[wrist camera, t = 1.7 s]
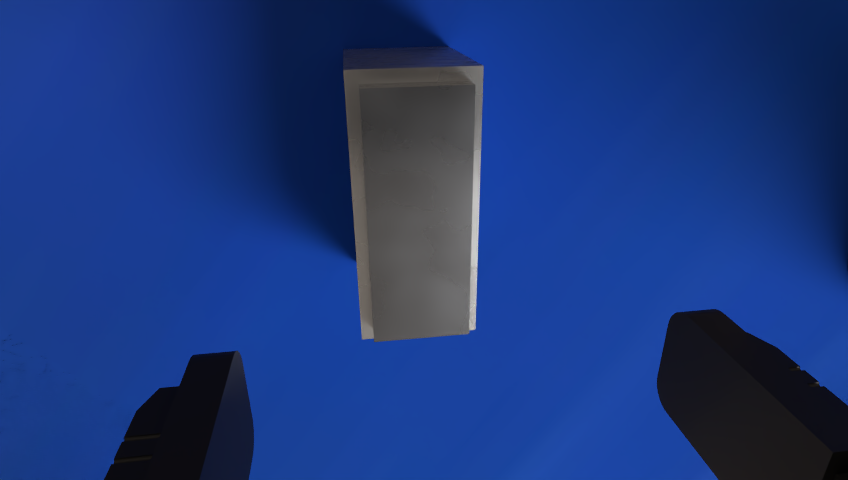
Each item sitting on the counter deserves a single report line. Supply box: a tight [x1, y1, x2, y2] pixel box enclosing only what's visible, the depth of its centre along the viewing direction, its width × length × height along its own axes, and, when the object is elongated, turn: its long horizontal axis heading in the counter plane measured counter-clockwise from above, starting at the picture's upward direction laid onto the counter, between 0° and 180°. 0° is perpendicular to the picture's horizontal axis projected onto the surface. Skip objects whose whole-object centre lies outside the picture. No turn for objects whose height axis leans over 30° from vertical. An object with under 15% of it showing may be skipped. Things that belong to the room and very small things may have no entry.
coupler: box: [343, 46, 483, 342], centre depth 20 cm, size 4×9×7 cm, turn 1°
